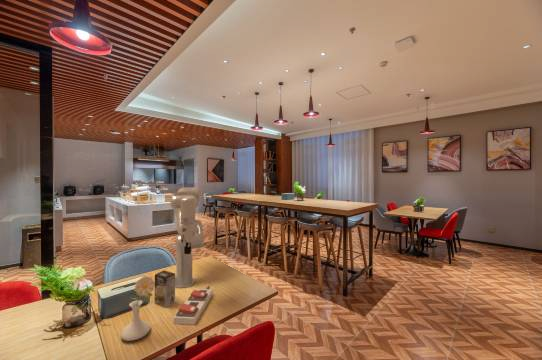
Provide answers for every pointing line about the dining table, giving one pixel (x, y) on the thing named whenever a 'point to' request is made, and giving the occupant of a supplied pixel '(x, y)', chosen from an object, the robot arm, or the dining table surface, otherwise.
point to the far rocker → (198, 294)
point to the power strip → (200, 304)
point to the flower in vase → (137, 325)
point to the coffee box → (164, 288)
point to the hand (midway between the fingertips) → (187, 253)
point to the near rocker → (187, 309)
